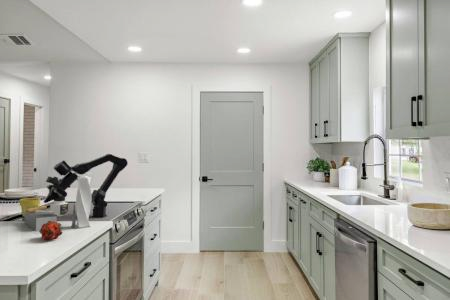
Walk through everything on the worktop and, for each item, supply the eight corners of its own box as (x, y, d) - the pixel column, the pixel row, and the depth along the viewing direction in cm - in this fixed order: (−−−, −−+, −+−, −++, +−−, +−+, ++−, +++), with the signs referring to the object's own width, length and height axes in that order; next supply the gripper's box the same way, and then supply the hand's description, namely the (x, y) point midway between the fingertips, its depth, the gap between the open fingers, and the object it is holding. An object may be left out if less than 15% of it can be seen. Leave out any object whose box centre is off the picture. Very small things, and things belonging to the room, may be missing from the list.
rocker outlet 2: (51, 213, 169) (52, 211, 169) (54, 214, 166) (54, 212, 166) (34, 212, 164) (34, 209, 164) (36, 213, 161) (37, 211, 161)
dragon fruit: (53, 238, 152) (52, 249, 141) (36, 229, 148) (33, 239, 137) (65, 223, 153) (65, 233, 142) (49, 214, 149) (48, 223, 139)
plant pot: (43, 214, 198) (44, 198, 198) (31, 217, 188) (32, 200, 188) (27, 213, 199) (28, 197, 199) (14, 217, 189) (15, 200, 189)
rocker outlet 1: (44, 206, 179) (44, 205, 179) (46, 208, 176) (46, 206, 175) (28, 210, 173) (27, 208, 173) (30, 212, 170) (29, 210, 170)
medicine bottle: (60, 216, 194) (60, 196, 194) (49, 215, 196) (50, 195, 196) (68, 214, 201) (68, 194, 201) (57, 213, 203) (58, 194, 203)
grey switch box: (45, 220, 181) (46, 209, 181) (57, 228, 165) (58, 215, 165) (24, 223, 174) (24, 210, 174) (34, 231, 158) (35, 217, 158)
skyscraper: (87, 224, 176) (89, 172, 176) (93, 227, 170) (95, 173, 170) (71, 226, 170) (73, 172, 170) (77, 229, 164) (79, 173, 164)
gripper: (51, 170, 187) (28, 190, 180) (61, 172, 174) (37, 194, 166) (65, 183, 193) (43, 203, 185) (76, 186, 179) (53, 208, 171)
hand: (44, 202), depth 177 cm, fingers closed
